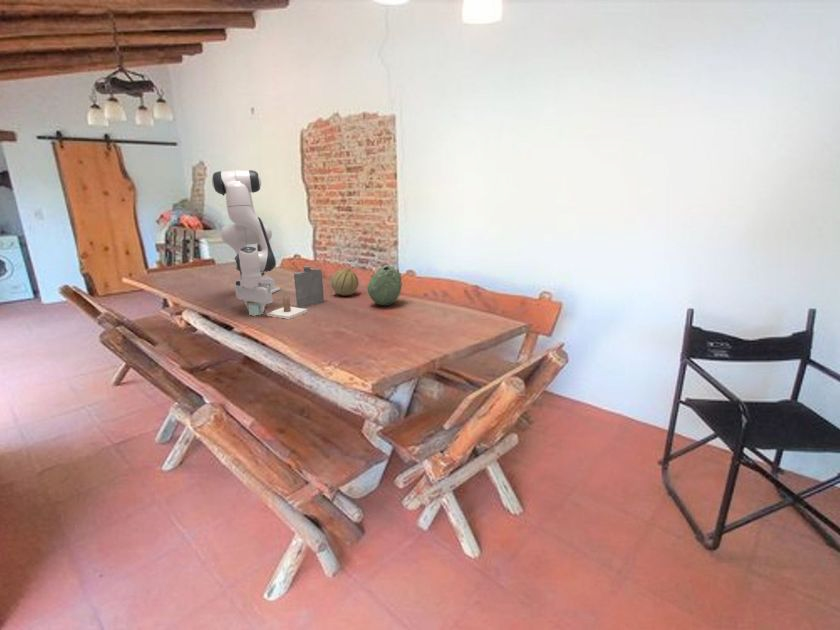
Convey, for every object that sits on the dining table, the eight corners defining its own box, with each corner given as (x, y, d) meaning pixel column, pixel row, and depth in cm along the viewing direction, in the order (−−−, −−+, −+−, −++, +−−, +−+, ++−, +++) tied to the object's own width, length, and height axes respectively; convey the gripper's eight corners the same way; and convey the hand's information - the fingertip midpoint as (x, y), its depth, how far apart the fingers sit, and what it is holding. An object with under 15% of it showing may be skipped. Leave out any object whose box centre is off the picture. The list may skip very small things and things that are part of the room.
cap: (256, 311, 214) (255, 301, 212) (266, 312, 211) (265, 303, 210) (246, 314, 208) (245, 305, 207) (256, 316, 206) (255, 306, 204)
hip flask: (299, 308, 218) (295, 269, 212) (294, 307, 220) (291, 268, 214) (325, 301, 229) (322, 264, 223) (320, 300, 232) (317, 263, 226)
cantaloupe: (329, 293, 246) (327, 267, 241) (354, 290, 252) (353, 265, 247) (336, 299, 233) (334, 272, 228) (362, 296, 239) (361, 269, 234)
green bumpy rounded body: (361, 306, 220) (359, 267, 214) (386, 298, 235) (384, 261, 229) (384, 311, 211) (383, 271, 205) (408, 303, 226) (408, 264, 220)
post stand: (286, 308, 217) (284, 292, 215) (307, 312, 212) (305, 295, 209) (267, 316, 206) (265, 298, 204) (288, 319, 201) (287, 301, 198)
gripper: (274, 282, 203) (277, 311, 207) (242, 278, 212) (245, 306, 216) (264, 285, 198) (267, 314, 202) (231, 281, 206) (235, 309, 211)
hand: (255, 310), depth 209 cm, fingers closed on cap, 6 cm apart
